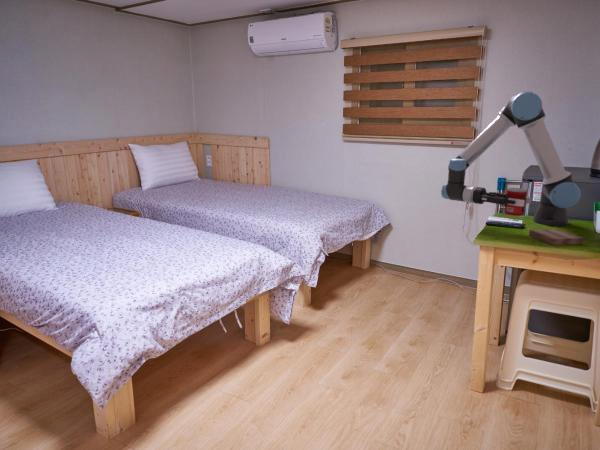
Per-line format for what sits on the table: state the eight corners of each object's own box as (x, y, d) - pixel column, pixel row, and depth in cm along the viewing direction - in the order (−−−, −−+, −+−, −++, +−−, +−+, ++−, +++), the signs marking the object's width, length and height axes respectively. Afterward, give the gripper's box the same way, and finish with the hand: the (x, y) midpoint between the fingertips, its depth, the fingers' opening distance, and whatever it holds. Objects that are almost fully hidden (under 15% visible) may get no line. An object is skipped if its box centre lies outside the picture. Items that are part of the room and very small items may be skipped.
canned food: (526, 216, 196) (529, 191, 193) (506, 215, 197) (509, 190, 195) (521, 212, 203) (524, 188, 200) (502, 211, 205) (505, 187, 202)
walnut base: (557, 234, 199) (558, 228, 198) (582, 243, 186) (583, 237, 185) (528, 235, 196) (529, 230, 195) (552, 245, 183) (553, 239, 182)
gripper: (483, 199, 219) (534, 206, 204) (464, 206, 204) (517, 214, 189) (485, 184, 217) (536, 190, 202) (466, 189, 203) (520, 196, 187)
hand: (527, 201), depth 195 cm, fingers closed on canned food, 8 cm apart
